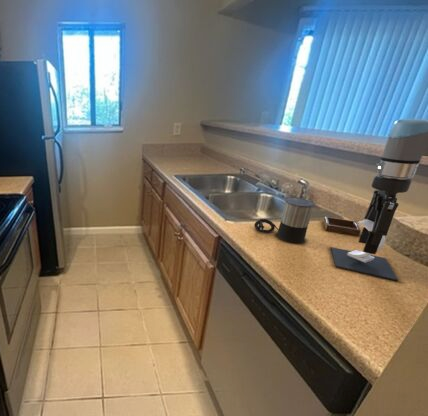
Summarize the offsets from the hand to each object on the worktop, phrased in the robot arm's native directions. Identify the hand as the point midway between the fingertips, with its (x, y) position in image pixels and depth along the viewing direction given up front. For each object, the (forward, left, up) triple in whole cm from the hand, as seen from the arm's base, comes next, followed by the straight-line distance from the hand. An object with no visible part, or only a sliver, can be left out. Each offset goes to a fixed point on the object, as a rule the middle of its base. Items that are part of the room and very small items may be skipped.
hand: (366, 247), depth 86 cm
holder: (+2, -29, -6) cm, 30 cm away
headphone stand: (0, 0, -4) cm, 4 cm away
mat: (0, 0, -6) cm, 6 cm away
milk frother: (+23, -10, -6) cm, 26 cm away
